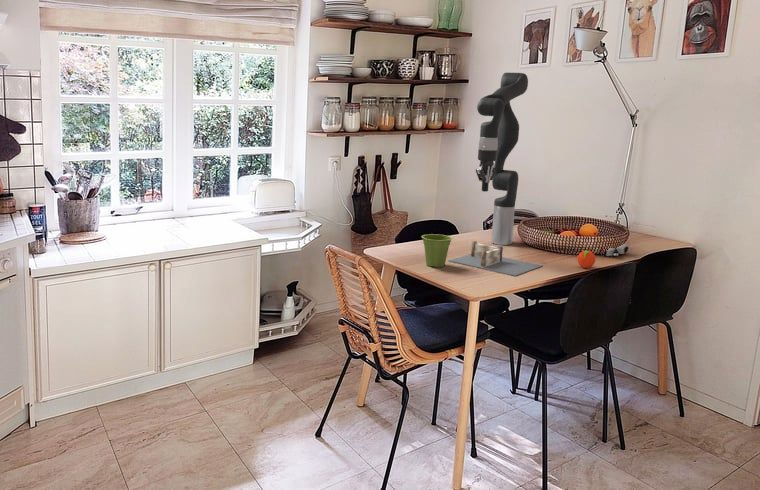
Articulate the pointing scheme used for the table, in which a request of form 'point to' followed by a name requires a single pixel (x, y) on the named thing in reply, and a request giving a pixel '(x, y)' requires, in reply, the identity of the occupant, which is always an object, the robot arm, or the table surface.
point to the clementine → (586, 259)
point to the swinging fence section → (491, 256)
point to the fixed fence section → (480, 249)
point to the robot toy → (617, 250)
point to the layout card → (498, 265)
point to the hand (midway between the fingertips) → (484, 191)
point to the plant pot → (436, 249)
